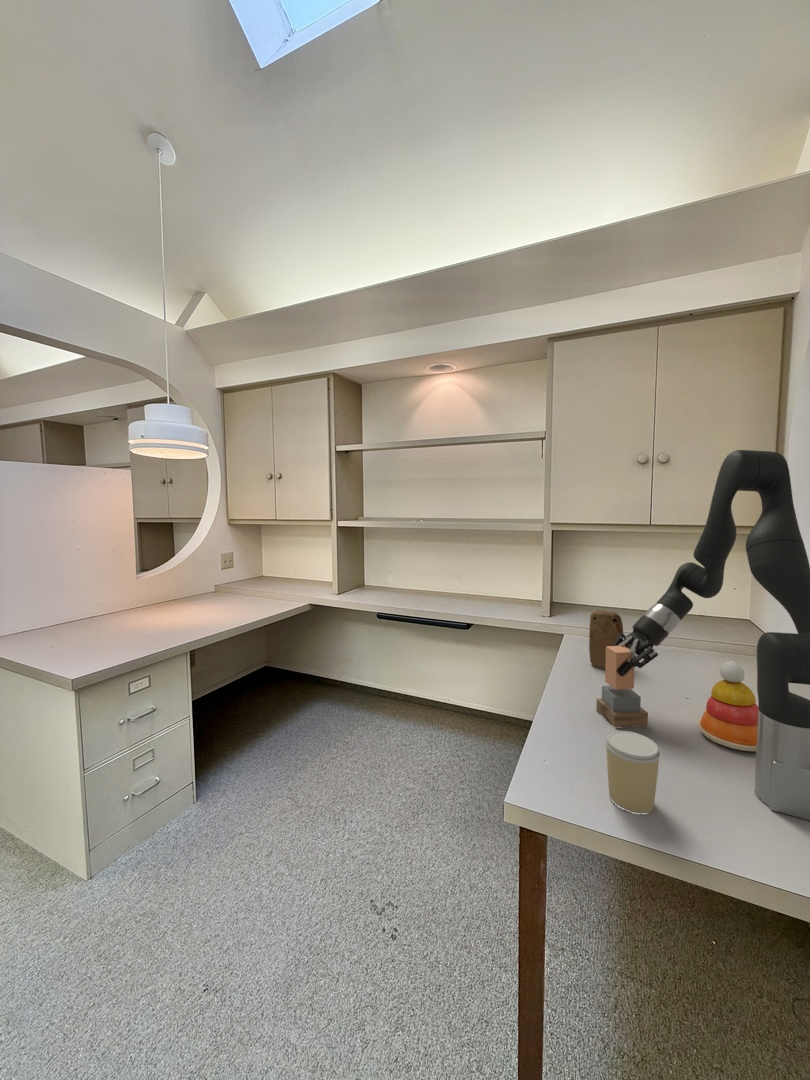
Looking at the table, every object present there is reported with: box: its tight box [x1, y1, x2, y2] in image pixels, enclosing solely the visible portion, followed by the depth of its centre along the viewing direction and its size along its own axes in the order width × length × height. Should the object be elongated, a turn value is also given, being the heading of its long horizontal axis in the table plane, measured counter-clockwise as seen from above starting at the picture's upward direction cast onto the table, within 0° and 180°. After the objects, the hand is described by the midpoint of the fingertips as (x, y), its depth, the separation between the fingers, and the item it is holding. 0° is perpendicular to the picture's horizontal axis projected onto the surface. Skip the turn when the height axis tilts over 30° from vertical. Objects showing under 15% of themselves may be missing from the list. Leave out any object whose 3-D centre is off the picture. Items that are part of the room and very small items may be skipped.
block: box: [588, 609, 624, 670], centre depth 148 cm, size 11×8×20 cm
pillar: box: [604, 646, 635, 690], centre depth 112 cm, size 5×5×10 cm
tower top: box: [601, 685, 642, 712], centre depth 113 cm, size 7×7×4 cm
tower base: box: [595, 698, 649, 728], centre depth 113 cm, size 9×9×4 cm
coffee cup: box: [605, 730, 661, 814], centre depth 81 cm, size 9×9×12 cm
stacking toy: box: [697, 660, 758, 752], centre depth 101 cm, size 14×14×20 cm
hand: (613, 669), depth 112 cm, fingers closed on pillar, 5 cm apart
